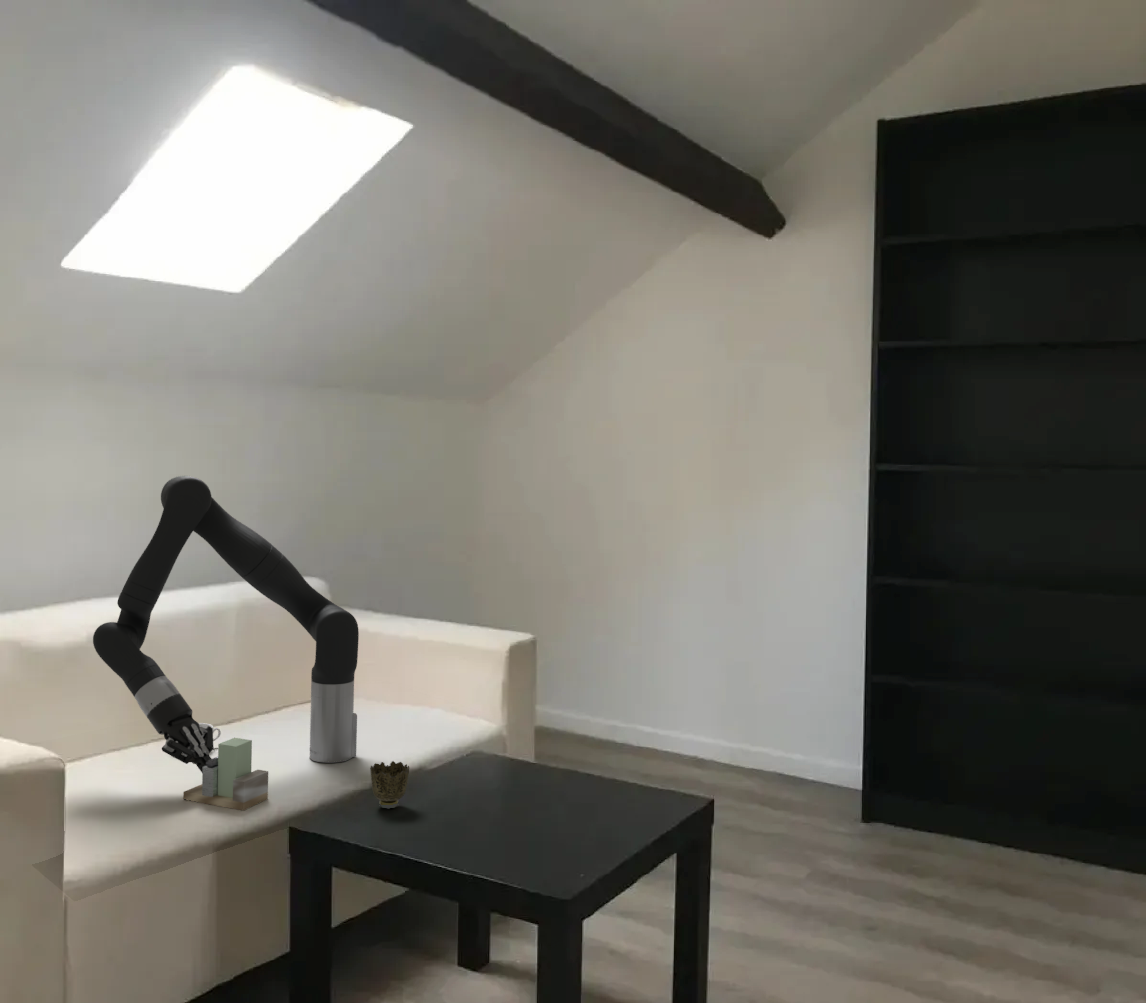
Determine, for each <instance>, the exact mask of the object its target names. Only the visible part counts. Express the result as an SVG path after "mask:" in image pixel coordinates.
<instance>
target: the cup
mask: <svg viewBox="0 0 1146 1003" xmlns="http://www.w3.org/2000/svg"><path fill="white" fill-rule="evenodd" d="M369 769H370V780H371V789H372V793H373V796H375V798H376V799H377V800H379V804H381V805H393V804H397V803H398V802H399V800H400V799H402V798H403V797H404V795H405V794H406V790H407V787H408V786H407V785H408V782H409V780H408V779H409V774H410V766H409V765H408V764H403V762H402V761H399V762H397V763H396V761H394V760H392V761H390V763H389V765H385V762H384V761H381V762H380V763H377V762H375V763H374V765H373V766H372V765H370V768H369Z"/></svg>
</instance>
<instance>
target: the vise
mask: <svg viewBox="0 0 1146 1003" xmlns="http://www.w3.org/2000/svg"><path fill="white" fill-rule="evenodd" d="M182 799H186V800H185V801H189V800H191V801H190V802H194V801H196V803H200V804H206V805H210V806H211V805H212V806H217V807H222V808H229V809H232V810H233V809H234V810H239V811H246V810H248V809H250V808H252V807H254V806H256V805H258V804H260V803H263V802H265V801H267V800H268V799H269V770H263V769H256V770H253V771H251V773H248V774H246V775H244V776H241V777H239V778H237V779H234V780H233V798H230V797H224V796H219V795H217V796H214V797H209V796H204V795H202V783H201V784H199V785H197V786H196V785H195V786H194V787H191V788H190V789H187V790H184V791H183V797H182Z"/></svg>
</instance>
